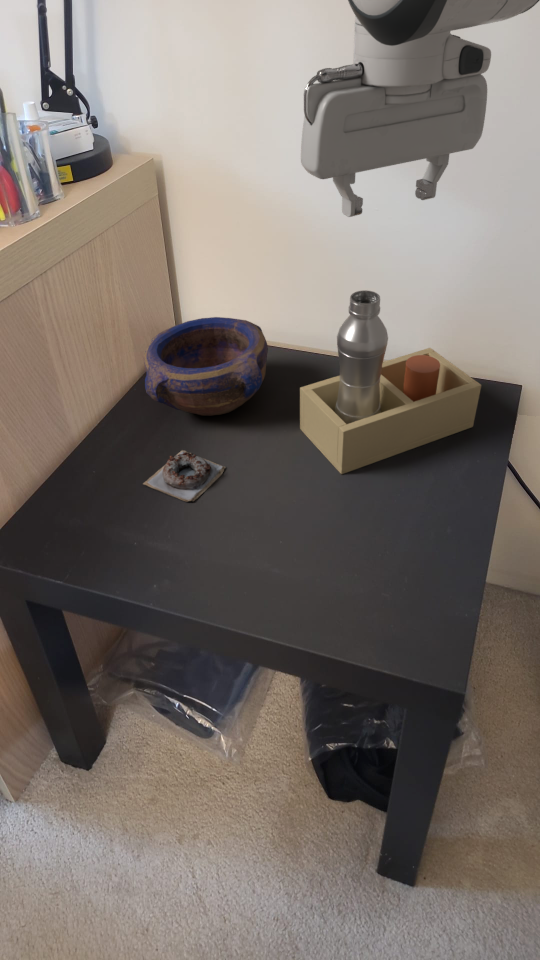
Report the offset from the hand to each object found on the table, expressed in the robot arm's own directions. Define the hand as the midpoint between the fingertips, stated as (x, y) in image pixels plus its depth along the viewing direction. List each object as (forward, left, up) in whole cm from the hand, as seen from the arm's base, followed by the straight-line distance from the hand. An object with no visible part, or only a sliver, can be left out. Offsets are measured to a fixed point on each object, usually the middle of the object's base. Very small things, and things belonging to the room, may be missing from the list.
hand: (389, 206), depth 74 cm
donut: (+5, +26, -32) cm, 41 cm away
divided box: (+1, -3, -32) cm, 32 cm away
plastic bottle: (+1, +2, -31) cm, 31 cm away
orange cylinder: (+1, -9, -31) cm, 32 cm away
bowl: (+20, +16, -32) cm, 41 cm away
